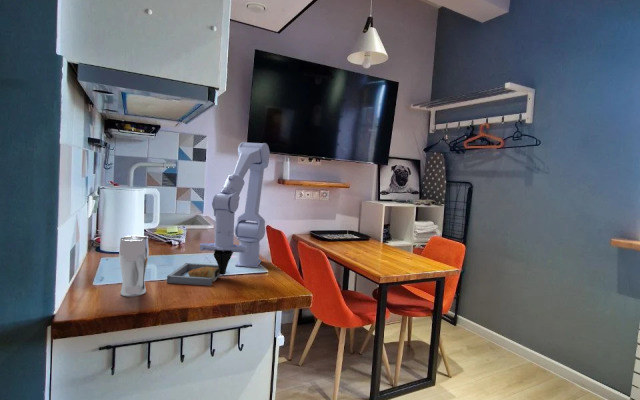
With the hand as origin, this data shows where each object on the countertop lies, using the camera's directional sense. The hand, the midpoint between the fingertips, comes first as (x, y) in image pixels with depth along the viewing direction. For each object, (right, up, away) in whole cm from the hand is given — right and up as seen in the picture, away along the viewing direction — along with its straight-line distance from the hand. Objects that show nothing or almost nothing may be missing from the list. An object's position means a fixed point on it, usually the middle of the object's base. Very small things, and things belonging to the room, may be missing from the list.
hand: (222, 273), depth 115 cm
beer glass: (-20, -2, -17) cm, 26 cm away
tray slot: (-7, -1, 0) cm, 8 cm away
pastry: (-5, -1, -1) cm, 5 cm away
